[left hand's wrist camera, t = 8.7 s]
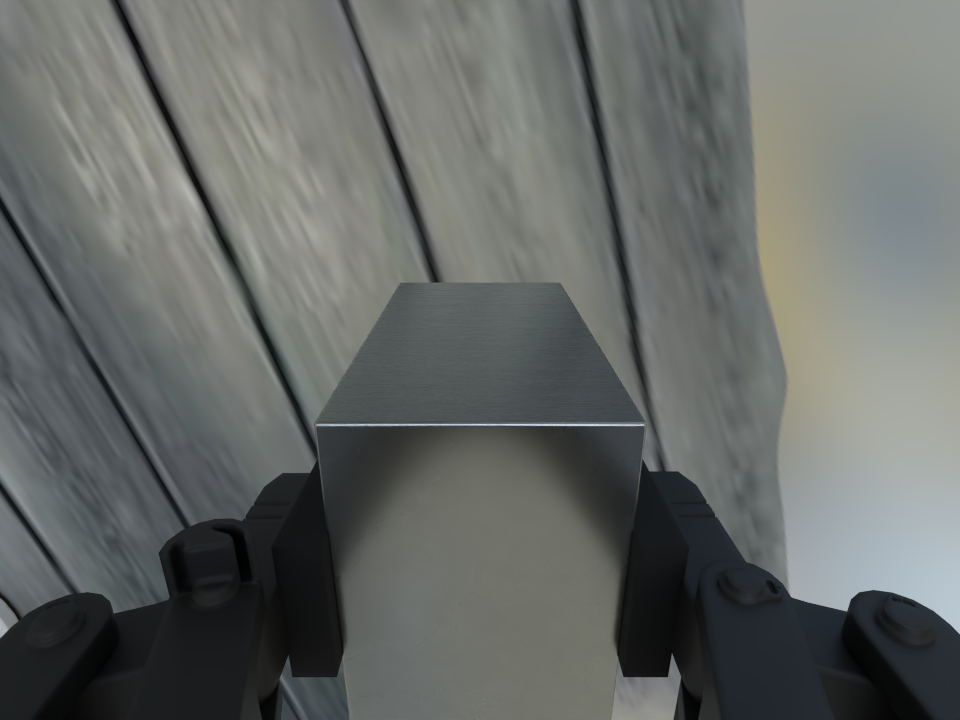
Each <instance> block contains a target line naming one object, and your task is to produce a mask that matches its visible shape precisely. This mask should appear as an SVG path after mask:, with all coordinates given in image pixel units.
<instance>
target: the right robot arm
mask: <svg viewBox="0 0 960 720" xmlns="http://www.w3.org/2000/svg"><path fill="white" fill-rule="evenodd" d="M17 622H18V619H17V617H16V615H15V614H14V612H13V611H12V610H11V609H10V608H9V606H8V605H7V604H6V603H5V602H4V601H3V600H2V599H1V598H0V638H1V637H2V636H3V635H4V634H5V633H6V632H7V631H8V630H9V629H10V628H11V627H12V626H13V625H14V624H16V623H17Z"/></svg>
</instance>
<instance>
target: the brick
mask: <svg viewBox="0 0 960 720" xmlns="http://www.w3.org/2000/svg"><path fill="white" fill-rule="evenodd" d="M314 426H315V435H316V443H317V451H318V460H319V468H320V476H321V485H322V493H323V501H324V510H325V518H326V526H327V531H328V539H329V548H330V556H331V564H332V573H333V581H334V589H335V598H336V606H337V615H338V623H339V631H340V640H341V648H342V660H343V668H344V676H345V685H346V693H347V701H348V710H349V718H350V720H611V715H612V707H613V699H614V690H615V682H616V674H617V665H618V651H619V643H620V634H621V626H622V618H623V609H624V601H625V593H626V584H627V576H628V568H629V560H630V551H631V543H632V535H633V530H634V524H635V516H636V508H637V500H638V491H639V483H640V475H641V466H642V458H643V450H644V442H645V433H646V422H645V420H644V419H643V417H642V416H641V414H640V412H639V411H638V409H637V407H636V406H635V404H634V403H633V401H632V399H631V398H630V396H629V394H628V393H627V391H626V389H625V388H624V386H623V385H622V383H621V381H620V380H619V378H618V376H617V375H616V373H615V371H614V370H613V368H612V367H611V365H610V363H609V362H608V360H607V358H606V357H605V355H604V354H603V352H602V350H601V349H600V347H599V345H598V344H597V342H596V340H595V339H594V337H593V336H592V334H591V332H590V331H589V329H588V327H587V326H586V324H585V322H584V321H583V319H582V318H581V316H580V314H579V313H578V311H577V309H576V308H575V306H574V304H573V303H572V301H571V300H570V298H569V296H568V295H567V293H566V291H565V290H564V288H563V287H562V285H561V283H400V284H399V286H398V287H397V289H396V290H395V292H394V294H393V295H392V297H391V299H390V300H389V302H388V304H387V305H386V307H385V309H384V310H383V312H382V313H381V315H380V317H379V318H378V320H377V322H376V323H375V325H374V327H373V328H372V330H371V332H370V333H369V335H368V336H367V338H366V340H365V341H364V343H363V345H362V346H361V348H360V350H359V351H358V353H357V355H356V356H355V358H354V359H353V361H352V363H351V364H350V366H349V368H348V369H347V371H346V373H345V374H344V376H343V378H342V379H341V381H340V382H339V384H338V386H337V387H336V389H335V391H334V392H333V394H332V396H331V397H330V399H329V400H328V402H327V404H326V405H325V407H324V409H323V410H322V412H321V414H320V415H319V417H318V419H317V420H316V422H315V424H314Z"/></svg>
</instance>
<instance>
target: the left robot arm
mask: <svg viewBox="0 0 960 720" xmlns="http://www.w3.org/2000/svg"><path fill="white" fill-rule="evenodd" d="M159 556H160V560H161V564H162V568H163V572H164V576H165V580H166V584H167V588H168V592H169V595H170V598H169V600H167V601H163V602H160V603H157V604H154V605H149V606H145V607H141V608H137V609H132V610H128V611H124V612H119V613H115V614H114V613H113V610H112V606H111V603H110V601H109V600H108V599H106V598H105V597H104V596H103V595H101V594H95V593H89V592H86V593H79V594H72V595H67V596H64V597H61V598H59V599H56V600H53V601H50V602H47V603H46V604H44V605H42V606H40V607H38V608H37V609H35V610H33V611H31V612H29V613H28V614H26V615H25V616H24V617H23V618H22V619H20V620H19V621H18V622H17V623H16V624H14V625H13V626H12V627H11V628H10V629H9V630H8V631H7V632H6V633H5V634H4V635H3V636H2V637H1V638H0V720H281V711H282V694H281V687H280V681H279V678H280V676H281V673H282V670H283V668H284V665H285V663H286V660H287V657H288V655H289V659H290V665H291V671H292V677H337V674H338V671H339V667H340V663H341V660H342V648H341V640H340V631H339V623H338V615H337V606H336V598H335V589H334V581H333V573H332V564H331V556H330V548H329V539H328V531H327V526H326V518H325V510H324V501H323V493H322V485H321V476H320V468H319V460H317V462H316V463H315V465H314V467H313V469H312V471H311V473H282V474H281V475H280V476H278V477H277V478H276V479H274V480H273V481H272V482H270V483H269V484H268V485H266V486H265V487H264V488H263V490H262V491H261V493H260V495H259V496H258V498H257V499H256V501H255V502H254V506H252V507H251V509H250V510H249V512H248V513H247V515H246V519H243V521H239V520H235V519H214V520H210V521H206V522H202V523H198V524H195V525H193V526H191V527H189V528H187V529H184V530H182V531H180V532H179V533H178V534H176V535H175V536H174V537H172V538H171V539H170V540H168V541H167V542H166V544H165V545H164V546H163V548H162V549H161V550H160V552H159ZM672 654H673V656H674V659H675V662H676V664H677V667H678V670H679V672H680V675H681V681H680V687H679V693H678V698H677V704H676V709H675V715H674V720H960V634H959V633H958V632H957V631H956V630H955V629H954V628H953V627H952V626H951V625H950V624H949V623H947V622H946V621H945V620H944V619H942V618H941V617H940V616H939V615H938V614H936V613H935V612H934V611H932V610H930V609H929V608H927V607H925V606H923V605H921V604H920V603H918V602H916V601H914V600H912V599H909V598H906V597H903V596H900V595H897V594H894V593H891V592H883V591H876V590H872V591H865V592H860V593H858V594H857V595H856V596H855V597H853V598H852V599H851V601H850V605H849V608H848V611H847V612H846V611H842V610H838V609H833V608H829V607H825V606H820V605H816V604H812V603H808V602H804V601H801V600H798V599H794V598H792V597H790V595H789V593H788V592H787V590H786V588H785V587H784V585H783V584H782V583H781V582H780V581H779V580H778V579H776V578H775V577H774V576H773V575H772V574H770V573H769V572H767V571H765V570H763V569H761V568H759V567H757V566H756V565H754V564H750V563H747V562H746V561H745V560H744V558H743V557H742V555H741V554H740V552H739V551H738V549H737V548H736V546H735V544H734V543H733V541H732V540H731V538H730V537H729V535H728V534H727V532H726V531H725V529H724V527H723V526H722V524H721V523H720V521H719V520H718V518H717V517H715V514H714V512H713V510H712V509H711V507H710V506H709V504H706V500H705V498H704V497H703V495H702V493H701V492H700V490H699V489H698V487H697V486H696V485H695V484H694V483H693V482H691V481H690V480H689V479H687V478H686V477H684V476H683V475H682V474H680V473H679V472H649V470H648V468H647V467H646V465H645V463H644V461H643V459H642V466H641V475H640V483H639V491H638V500H637V508H636V516H635V524H634V530H633V535H632V543H631V551H630V560H629V568H628V576H627V584H626V593H625V601H624V609H623V618H622V626H621V634H620V643H619V651H618V658H619V662H620V666H621V669H622V673H623V677H668V673H669V667H670V661H671V655H672Z"/></svg>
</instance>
